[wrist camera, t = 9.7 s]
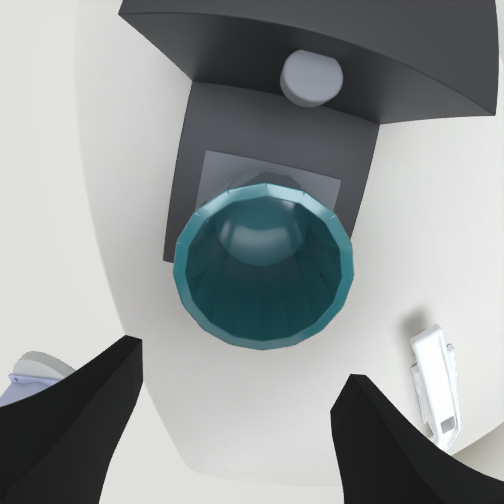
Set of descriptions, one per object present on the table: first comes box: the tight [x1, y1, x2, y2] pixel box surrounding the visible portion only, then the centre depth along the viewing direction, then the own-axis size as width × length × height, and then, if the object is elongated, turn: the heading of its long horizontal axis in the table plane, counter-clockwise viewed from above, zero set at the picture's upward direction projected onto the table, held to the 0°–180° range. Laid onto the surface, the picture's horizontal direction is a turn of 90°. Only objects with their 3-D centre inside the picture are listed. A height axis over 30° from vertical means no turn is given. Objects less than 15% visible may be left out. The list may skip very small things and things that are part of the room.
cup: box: [173, 167, 354, 350], centre depth 12 cm, size 5×5×7 cm
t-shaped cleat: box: [410, 324, 462, 451], centre depth 19 cm, size 4×20×5 cm, turn 29°
